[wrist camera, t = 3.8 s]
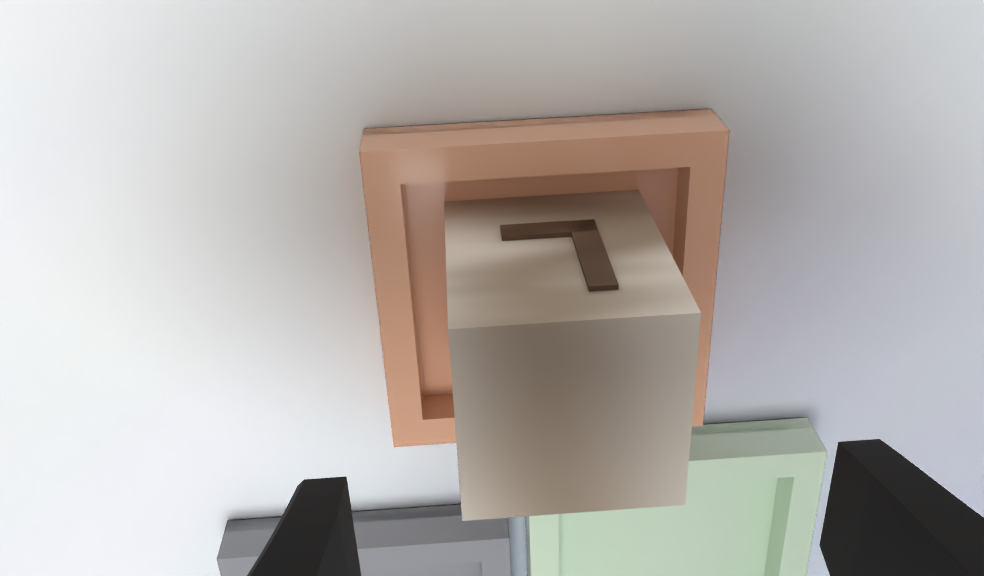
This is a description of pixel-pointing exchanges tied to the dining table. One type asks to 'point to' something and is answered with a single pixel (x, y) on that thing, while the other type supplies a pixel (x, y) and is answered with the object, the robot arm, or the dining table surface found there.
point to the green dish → (703, 513)
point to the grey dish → (393, 543)
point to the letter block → (568, 355)
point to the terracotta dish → (519, 173)
